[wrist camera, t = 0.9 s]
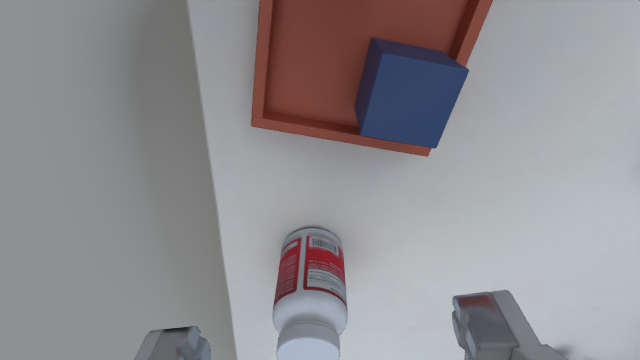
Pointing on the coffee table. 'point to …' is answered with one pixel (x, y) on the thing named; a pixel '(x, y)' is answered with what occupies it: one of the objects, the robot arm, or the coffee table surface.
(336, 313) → the pill bottle
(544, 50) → the coffee table surface
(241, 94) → the coffee table surface
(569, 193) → the coffee table surface
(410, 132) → the blue block
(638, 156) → the coffee table surface
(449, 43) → the red tray
